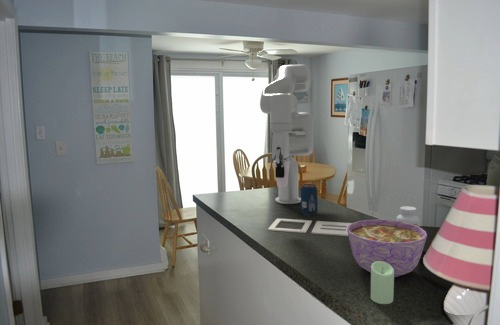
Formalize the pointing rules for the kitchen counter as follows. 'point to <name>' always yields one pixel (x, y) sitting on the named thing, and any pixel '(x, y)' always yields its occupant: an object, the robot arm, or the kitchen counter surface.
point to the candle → (382, 282)
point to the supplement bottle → (408, 215)
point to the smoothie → (283, 181)
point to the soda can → (309, 199)
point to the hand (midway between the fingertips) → (281, 175)
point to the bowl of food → (387, 244)
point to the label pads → (319, 227)
